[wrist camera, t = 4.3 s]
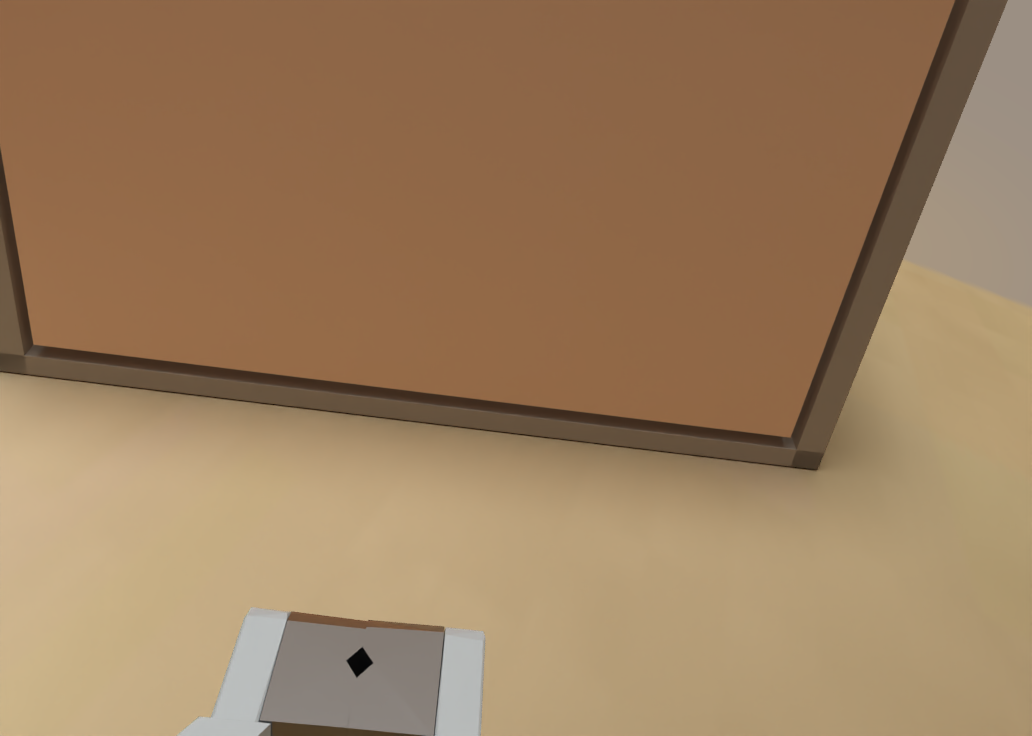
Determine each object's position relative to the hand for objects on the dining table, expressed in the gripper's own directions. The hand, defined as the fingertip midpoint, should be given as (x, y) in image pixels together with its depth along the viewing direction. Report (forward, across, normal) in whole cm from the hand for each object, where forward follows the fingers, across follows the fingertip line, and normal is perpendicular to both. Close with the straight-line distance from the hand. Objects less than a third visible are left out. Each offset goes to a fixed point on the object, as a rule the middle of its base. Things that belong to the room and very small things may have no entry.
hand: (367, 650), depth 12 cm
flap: (+13, 0, +5) cm, 14 cm away
